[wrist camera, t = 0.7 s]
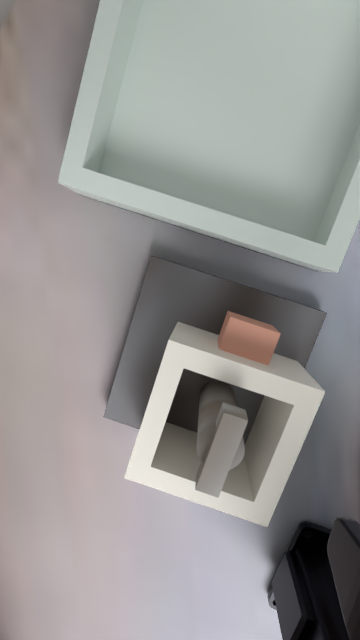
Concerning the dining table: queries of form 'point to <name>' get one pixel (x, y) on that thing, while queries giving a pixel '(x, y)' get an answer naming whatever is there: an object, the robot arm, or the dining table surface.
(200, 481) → the stand
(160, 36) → the tray
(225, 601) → the dining table surface
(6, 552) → the dining table surface
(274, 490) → the collar
